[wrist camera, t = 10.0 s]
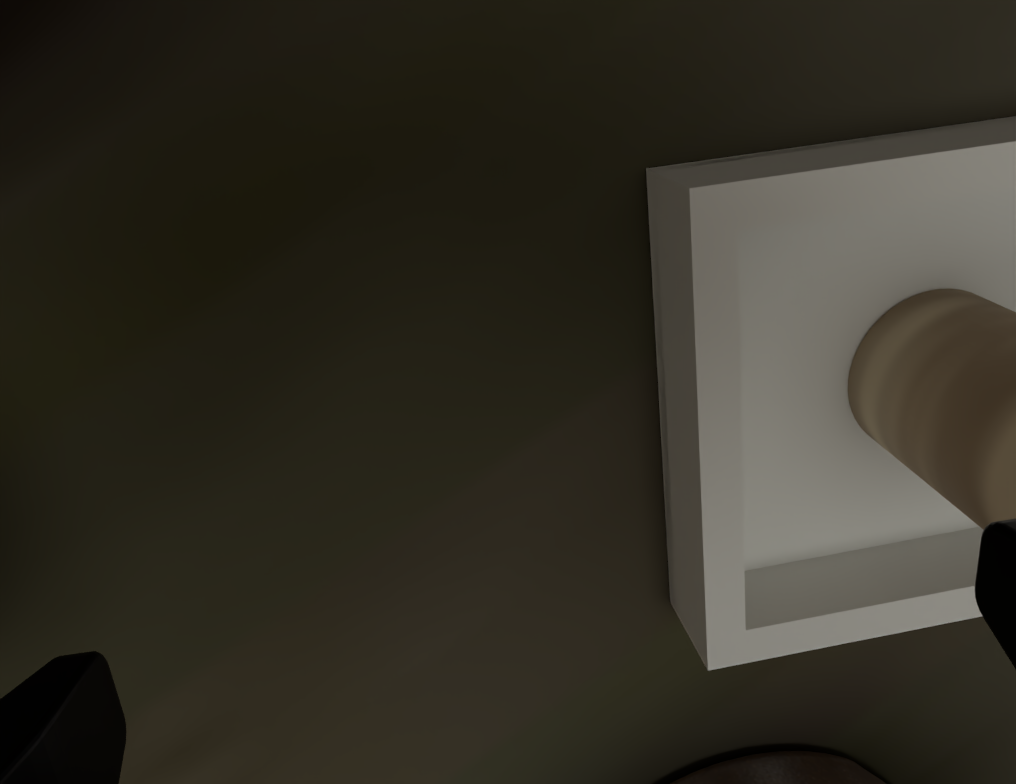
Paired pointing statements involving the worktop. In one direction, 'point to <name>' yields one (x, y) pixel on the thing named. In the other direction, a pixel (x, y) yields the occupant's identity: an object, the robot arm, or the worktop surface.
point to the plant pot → (783, 770)
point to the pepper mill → (944, 397)
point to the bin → (812, 381)
